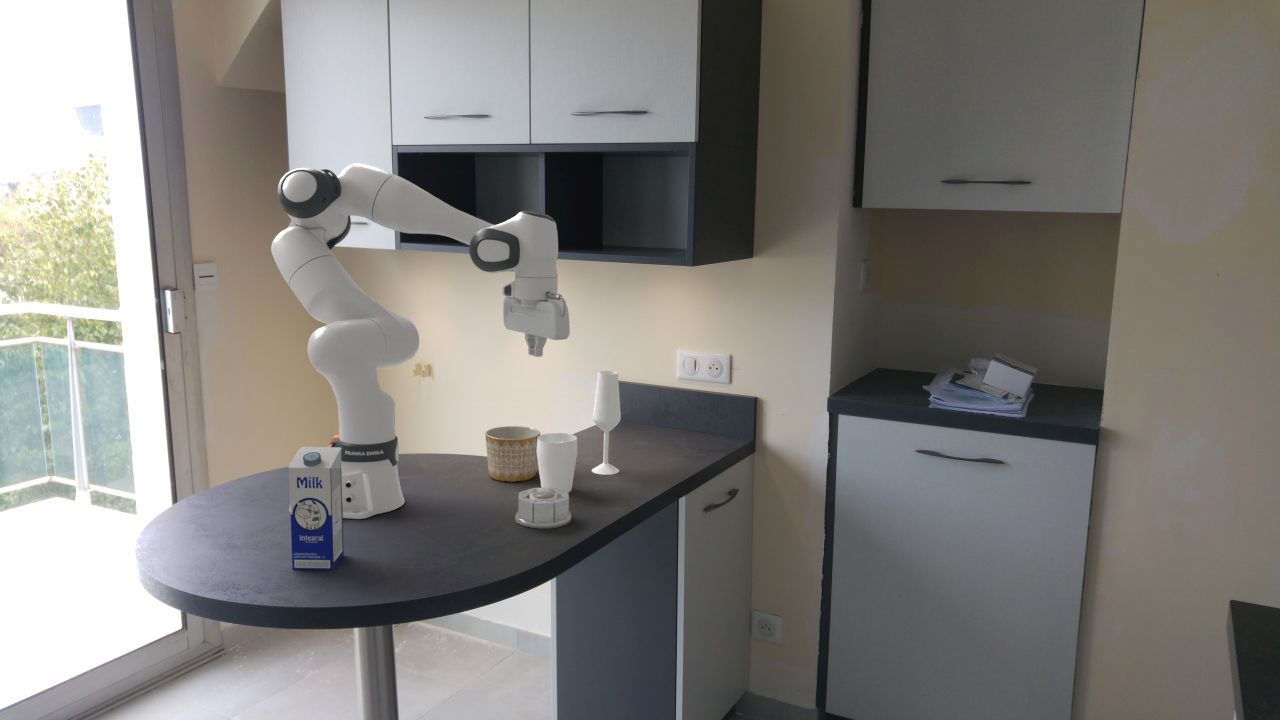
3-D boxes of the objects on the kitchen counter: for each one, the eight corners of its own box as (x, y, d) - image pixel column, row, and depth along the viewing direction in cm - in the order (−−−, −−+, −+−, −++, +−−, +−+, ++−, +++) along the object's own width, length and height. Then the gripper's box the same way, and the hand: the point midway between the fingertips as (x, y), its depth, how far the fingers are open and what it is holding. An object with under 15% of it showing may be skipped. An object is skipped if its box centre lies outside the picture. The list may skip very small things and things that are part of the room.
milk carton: (344, 555, 161) (342, 446, 157) (333, 570, 154) (330, 456, 151) (304, 554, 160) (300, 445, 157) (291, 569, 154) (287, 455, 151)
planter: (531, 486, 204) (531, 441, 202) (477, 481, 206) (477, 437, 204) (545, 470, 216) (546, 427, 214) (495, 466, 218) (495, 424, 216)
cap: (537, 520, 178) (537, 500, 178) (524, 512, 183) (525, 492, 182) (561, 516, 181) (562, 496, 181) (549, 508, 186) (549, 488, 185)
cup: (570, 498, 196) (571, 444, 194) (530, 494, 198) (531, 441, 196) (581, 486, 205) (582, 434, 203) (543, 482, 206) (543, 431, 205)
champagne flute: (609, 476, 213) (611, 376, 209) (585, 471, 216) (588, 372, 212) (624, 469, 218) (627, 372, 214) (601, 465, 222) (603, 368, 218)
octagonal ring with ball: (514, 529, 176) (514, 504, 175) (516, 510, 187) (516, 487, 186) (572, 528, 177) (572, 504, 177) (570, 509, 188) (570, 486, 188)
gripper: (577, 294, 182) (576, 361, 185) (523, 285, 198) (522, 348, 200) (551, 295, 178) (550, 364, 181) (498, 286, 194) (497, 350, 196)
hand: (535, 355), depth 191 cm, fingers closed
